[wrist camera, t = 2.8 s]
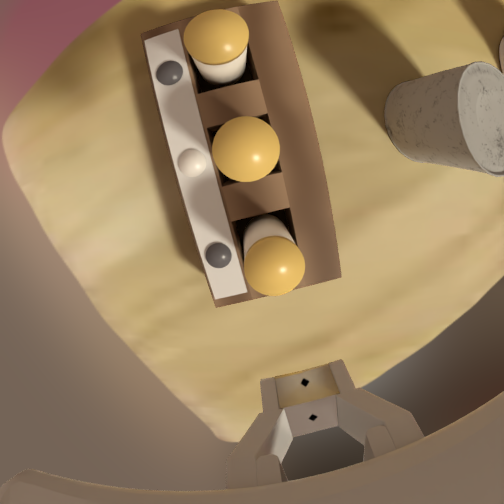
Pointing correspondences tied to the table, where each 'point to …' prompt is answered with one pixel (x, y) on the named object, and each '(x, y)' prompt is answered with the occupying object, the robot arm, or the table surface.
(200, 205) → the strip
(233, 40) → the button
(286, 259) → the button
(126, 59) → the table surface
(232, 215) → the button board
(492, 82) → the grey concrete cylinder
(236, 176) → the middle button
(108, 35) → the table surface
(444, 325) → the table surface
